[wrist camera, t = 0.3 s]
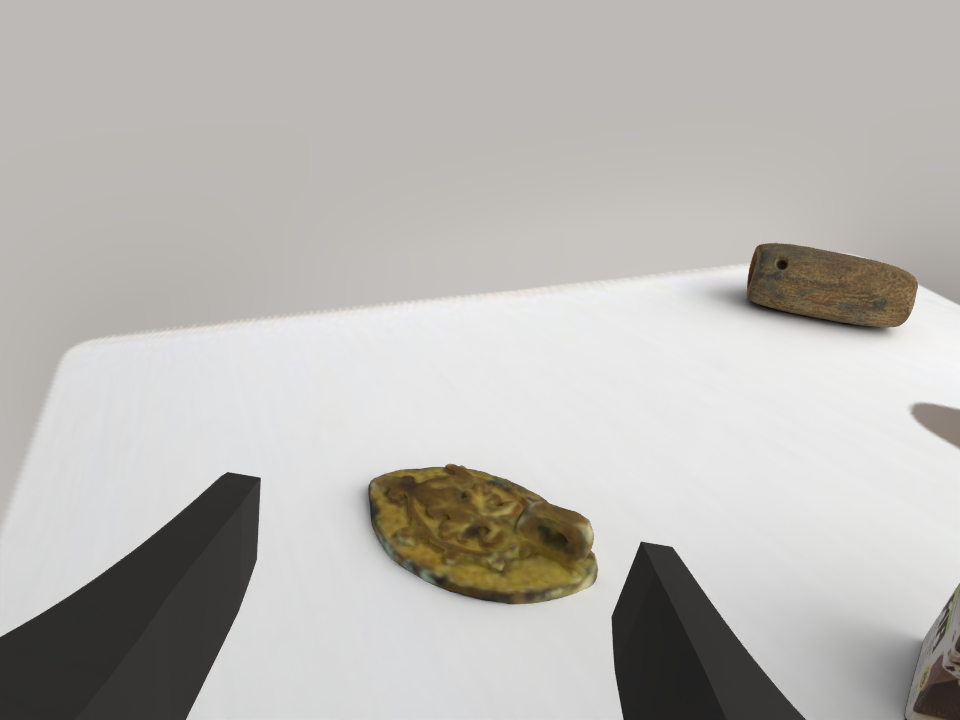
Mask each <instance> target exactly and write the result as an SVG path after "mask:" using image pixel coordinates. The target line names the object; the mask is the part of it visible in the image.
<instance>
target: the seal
mask: <svg viewBox="0 0 960 720" xmlns="http://www.w3.org/2000/svg"><path fill="white" fill-rule="evenodd" d="M369 499H370V508H371V520H372V526H373V529H374V531H375V533H376V536H377V538H378V540H379V541H380V543H381V545H382V546H383V548H384V549H385V550H386V552H387V553H388V554H389V555H390V556H391V558H392V559H393V560H394V561H395V562H397V563H398V564H399V565H400V566H402V567H404V568H405V569H407V570H408V571H410V572H412V573H414V574H415V575H417V576H419V577H420V578H422V579H424V580H425V581H427V582H429V583H432V584H434V585H435V586H437V587H440V588H443V589H446V590H448V591H451V592H456V593H460V594H463V595H467V596H471V597H475V598H478V599H482V600H485V601H494V602H501V603H507V604H527V603H538V602H543V601H550V600H553V599H558V598H562V597H565V596H569V595H571V594H574V593H577V592H579V591H581V590H583V589H586V588H588V587H590V586H591V585H592V584H593V583H594V582H595V580H596V578H597V571H598V566H597V560H596V557H595V554H594V553H593V552H592V551H591V548H592V545H593V540H594V534H593V530H592V527H591V524H590V521H589V519H587V518H585V517H583V516H582V515H581V514H579V513H577V512H575V511H571V510H567V509H564V508H561V507H558V506H555V505H552V504H549V503H548V502H547V501H546V500H545V499H543V498H542V497H540V496H539V495H537V494H535V493H533V492H531V491H529V490H527V489H526V488H524V487H522V486H519V485H517V484H515V483H513V482H511V481H509V480H507V479H503V478H500V477H496V476H493V475H490V474H487V473H485V472H482V471H476V470H472V469H466V468H465V467H464V466H457V465H454V464H448V465H446V466H445V467H430V468H423V469H405V470H398V471H395V472H391V473H387V474H384V475H382V476H379V477H377V478H374V479H373V480H372V481H371V482H370V484H369Z"/></svg>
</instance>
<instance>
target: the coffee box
mask: <svg viewBox="0 0 960 720" xmlns="http://www.w3.org/2000/svg"><path fill="white" fill-rule="evenodd" d="M905 717H906V719H907V720H960V584H959V585H958V587H957V588H956V590H955V591H954V593H953V594H952V596H951V597H950V599H949V601H948V602H947V604H946V605H945V607H944V608H943V610H942V612H941V613H940V615H939V616H938V618H937V619H936V621H935V623H934V624H933V626H932V627H931V629H930V630H929V632H928V633H927V635H926V636H925V639H924V642H923V645H922V649H921V653H920V656H919V660H918V663H917V667H916V671H915V675H914V678H913V682H912V686H911V689H910V694H909V698H908V702H907V707H906V711H905Z"/></svg>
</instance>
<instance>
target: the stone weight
mask: <svg viewBox="0 0 960 720" xmlns="http://www.w3.org/2000/svg"><path fill="white" fill-rule="evenodd" d="M917 288H918V284H917V281H916V279H915V277H914V276H913V275H911V274H910V273H908V272H906V271H904V270H902V269H900V268H898V267H895V266H892V265H889V264H885V263H881V262H878V261H874V260H869V259H865V258H860V257H856V256H851V255H846V254H841V253H836V252H830V251H825V250H820V249H815V248H810V247H804V246H797V245H791V244H777V243H773V244H772V243H771V244H762V245H759V246H757V247H756V250H755V252H754V254H753V258H752V261H751V264H750V268H749V274H748V281H747V298H748V300H750V301H751V302H753V303H756V304H759V305H762V306H766V307H769V308H773V309H776V310H781V311H785V312H789V313H794V314H800V315H805V316H810V317H815V318H820V319H826V320H831V321H836V322H842V323H850V324H856V325H865V326H874V327H897V326H900V325H901V324H903V323H904V322H905V321H906V320H907V319H908V317H909V315H910V313H911V311H912V309H913V306H914V302H915V297H916V292H917Z"/></svg>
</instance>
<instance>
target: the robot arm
mask: <svg viewBox="0 0 960 720" xmlns="http://www.w3.org/2000/svg"><path fill="white" fill-rule="evenodd" d="M260 482H261V478H259V477H253V476H247V475H241V474H235V473H229V472H227V473H225V474H224V475H222V476H221V477H220V478H219V479H218V480H216V481H215V482H214V483H213V484H212V485H211V486H210V487H209V488H208V489H206V490H205V491H204V492H203V493H202V494H201V495H200V496H199V497H198V498H196V499H195V500H194V501H193V502H192V503H191V504H190V505H188V506H187V507H186V508H185V509H184V510H183V511H181V512H180V513H179V514H178V515H177V516H176V517H174V518H173V519H172V520H171V521H170V522H168V523H167V524H166V525H165V526H164V527H162V528H161V529H160V530H159V531H157V532H156V533H155V534H154V535H152V536H151V537H150V538H149V539H148V540H146V541H145V542H144V543H143V544H141V545H140V546H139V547H137V548H136V549H135V550H134V551H132V552H131V553H129V554H128V555H127V556H125V557H124V558H123V559H121V560H120V561H119V562H117V563H116V564H115V565H113V566H112V567H110V568H109V569H108V570H106V571H105V572H104V573H102V574H101V575H100V576H98V577H97V578H95V579H94V580H92V581H91V582H90V583H88V584H87V585H85V586H84V587H82V588H81V589H79V590H78V591H76V592H75V593H73V594H72V595H70V596H69V597H67V598H65V599H64V600H62V601H61V602H59V603H58V604H56V605H54V606H53V607H51V608H50V609H48V610H46V611H45V612H43V613H41V614H40V615H38V616H37V617H35V618H33V619H31V620H30V621H28V622H26V623H24V624H23V625H21V626H19V627H17V628H16V629H14V630H12V631H10V632H9V633H7V634H5V635H3V636H1V637H0V720H186V718H187V716H188V714H189V712H190V710H191V708H192V706H193V704H194V702H195V700H196V698H197V696H198V694H199V692H200V690H201V688H202V686H203V684H204V681H205V679H206V677H207V675H208V673H209V671H210V669H211V667H212V665H213V663H214V661H215V659H216V657H217V655H218V653H219V651H220V649H221V647H222V645H223V643H224V641H225V639H226V636H227V634H228V632H229V630H230V628H231V626H232V624H233V622H234V620H235V618H236V616H237V614H238V611H239V609H240V606H241V603H242V601H243V598H244V595H245V592H246V590H247V587H248V584H249V581H250V578H251V575H252V572H253V569H254V566H255V563H256V560H257V544H258V524H259V503H260ZM612 635H613V653H614V667H615V674H616V680H617V686H618V692H619V697H620V703H621V708H622V714H623V719H624V720H806V719H805V718H804V717H803V716H802V715H801V714H800V713H799V712H798V711H797V710H796V709H795V708H794V706H793V705H792V704H791V703H790V702H789V701H788V700H787V699H786V697H785V696H784V695H783V694H782V693H781V692H780V691H779V689H778V688H777V687H776V686H775V685H774V683H773V682H772V681H771V680H770V678H769V677H768V676H767V675H766V674H765V672H764V671H763V670H762V669H761V668H760V666H759V665H758V664H757V663H756V661H755V660H754V659H753V658H752V656H751V655H750V654H749V653H748V651H747V650H746V649H745V647H744V646H743V645H742V644H741V642H740V641H739V640H738V638H737V637H736V636H735V634H734V633H733V632H732V630H731V629H730V628H729V626H728V625H727V624H726V622H725V621H724V620H723V618H722V617H721V615H720V614H719V613H718V611H717V610H716V608H715V607H714V606H713V604H712V603H711V601H710V600H709V599H708V597H707V596H706V594H705V593H704V591H703V590H702V589H701V587H700V586H699V584H698V583H697V581H696V580H695V579H694V577H693V576H692V574H691V573H690V571H689V570H688V568H687V567H686V566H685V564H684V563H683V561H682V560H681V558H680V557H679V555H678V554H677V553H676V551H675V550H674V549H673V547H670V546H664V545H658V544H652V543H646V542H641V543H640V546H639V548H638V551H637V554H636V556H635V559H634V561H633V564H632V566H631V569H630V571H629V574H628V576H627V579H626V582H625V584H624V587H623V589H622V592H621V594H620V597H619V599H618V602H617V605H616V607H615V610H614V612H613V615H612Z"/></svg>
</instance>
